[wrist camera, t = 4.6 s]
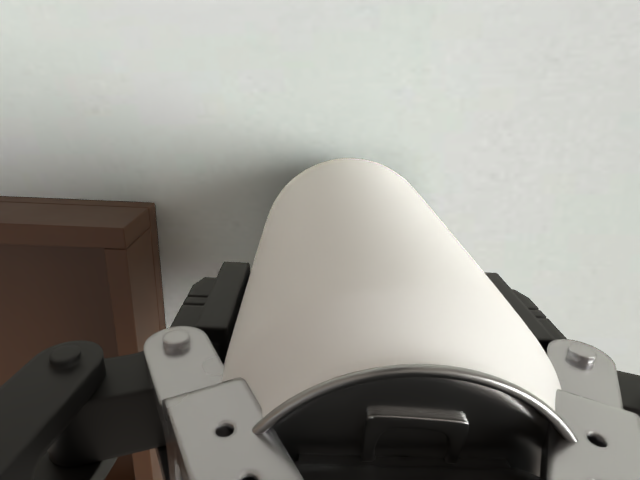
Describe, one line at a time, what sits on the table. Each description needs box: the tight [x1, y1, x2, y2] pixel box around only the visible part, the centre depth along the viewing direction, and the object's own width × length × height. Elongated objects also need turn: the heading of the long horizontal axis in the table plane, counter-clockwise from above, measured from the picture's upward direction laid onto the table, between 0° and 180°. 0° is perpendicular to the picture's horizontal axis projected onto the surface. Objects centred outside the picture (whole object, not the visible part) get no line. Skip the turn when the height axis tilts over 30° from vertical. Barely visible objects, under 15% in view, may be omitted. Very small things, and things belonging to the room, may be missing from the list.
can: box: [222, 158, 578, 477], centre depth 12 cm, size 6×6×12 cm
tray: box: [0, 196, 166, 480], centre depth 20 cm, size 17×14×3 cm
